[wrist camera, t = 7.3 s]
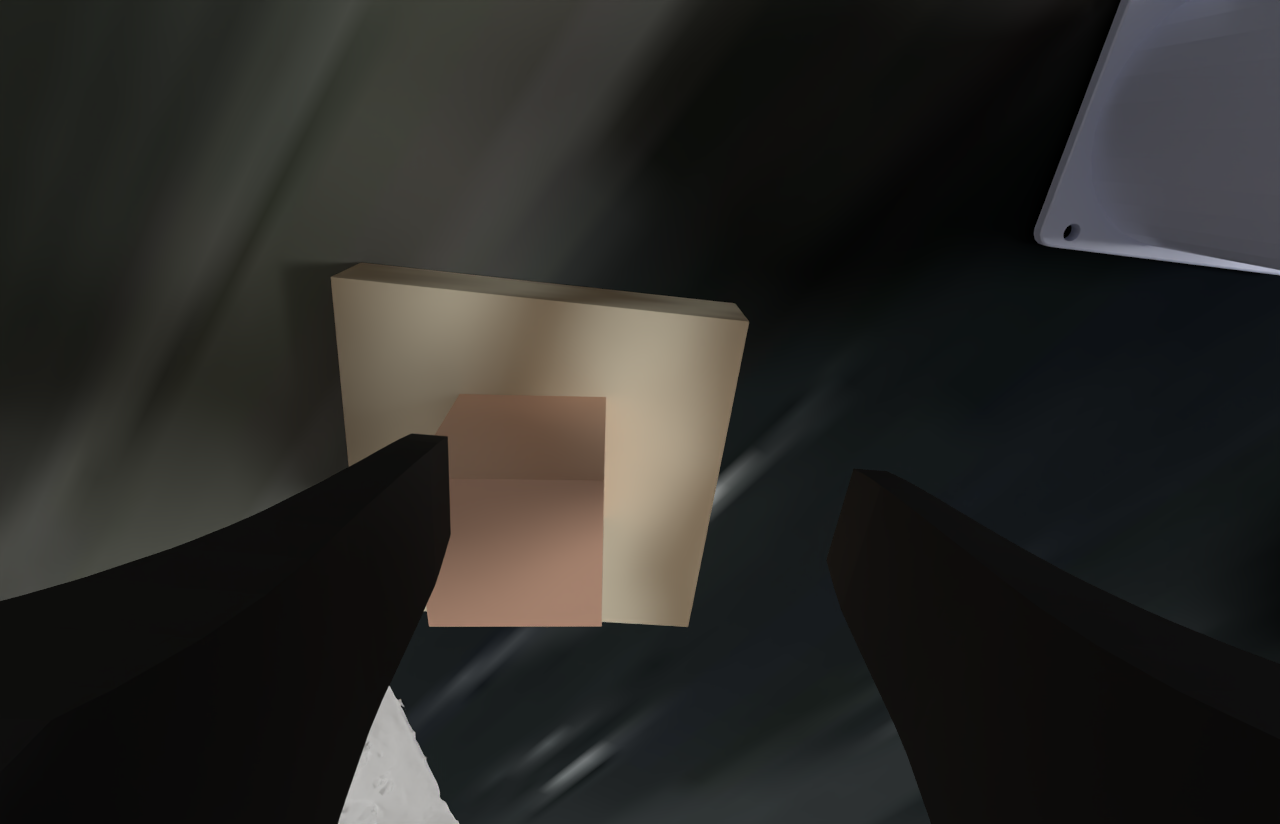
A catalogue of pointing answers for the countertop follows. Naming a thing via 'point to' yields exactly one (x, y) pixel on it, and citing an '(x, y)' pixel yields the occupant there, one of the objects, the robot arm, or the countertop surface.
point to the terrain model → (393, 776)
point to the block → (523, 512)
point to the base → (560, 366)
